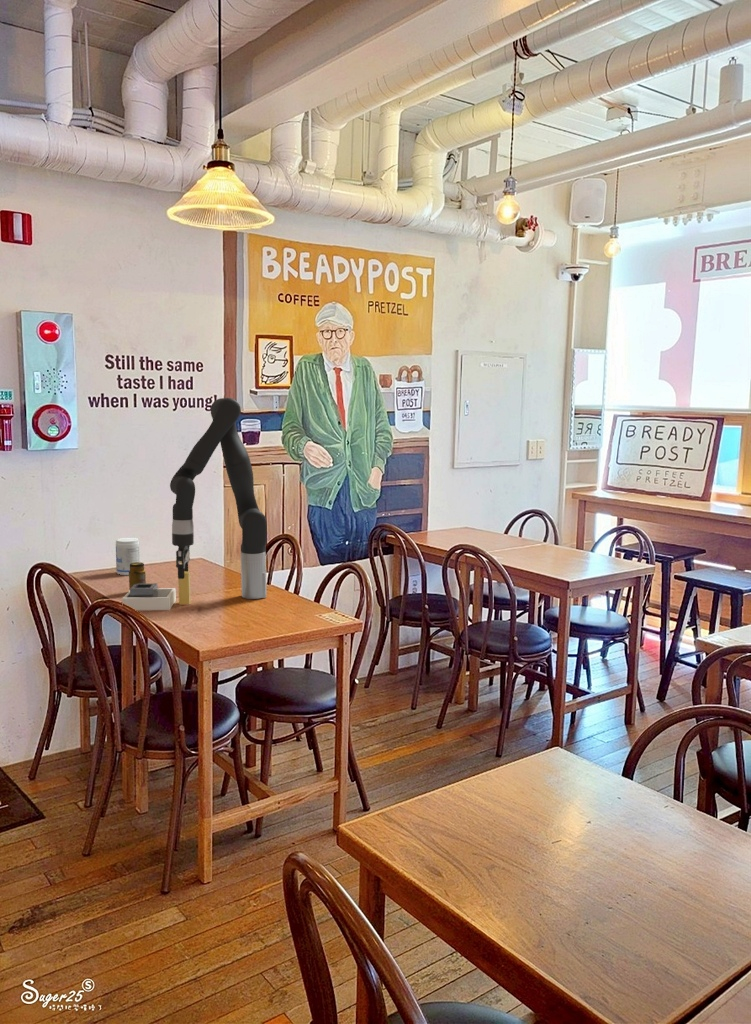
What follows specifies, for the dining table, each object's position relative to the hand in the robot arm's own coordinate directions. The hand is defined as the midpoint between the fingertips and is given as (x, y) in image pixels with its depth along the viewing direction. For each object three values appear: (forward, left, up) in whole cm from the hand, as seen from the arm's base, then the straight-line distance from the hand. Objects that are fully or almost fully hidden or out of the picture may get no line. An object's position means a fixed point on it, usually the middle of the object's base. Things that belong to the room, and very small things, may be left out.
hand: (183, 575), depth 293 cm
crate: (+12, +2, -11) cm, 16 cm away
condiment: (+20, -16, -11) cm, 28 cm away
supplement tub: (+32, -53, -11) cm, 63 cm away
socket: (+14, +2, -10) cm, 17 cm away
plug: (0, 0, -11) cm, 11 cm away
